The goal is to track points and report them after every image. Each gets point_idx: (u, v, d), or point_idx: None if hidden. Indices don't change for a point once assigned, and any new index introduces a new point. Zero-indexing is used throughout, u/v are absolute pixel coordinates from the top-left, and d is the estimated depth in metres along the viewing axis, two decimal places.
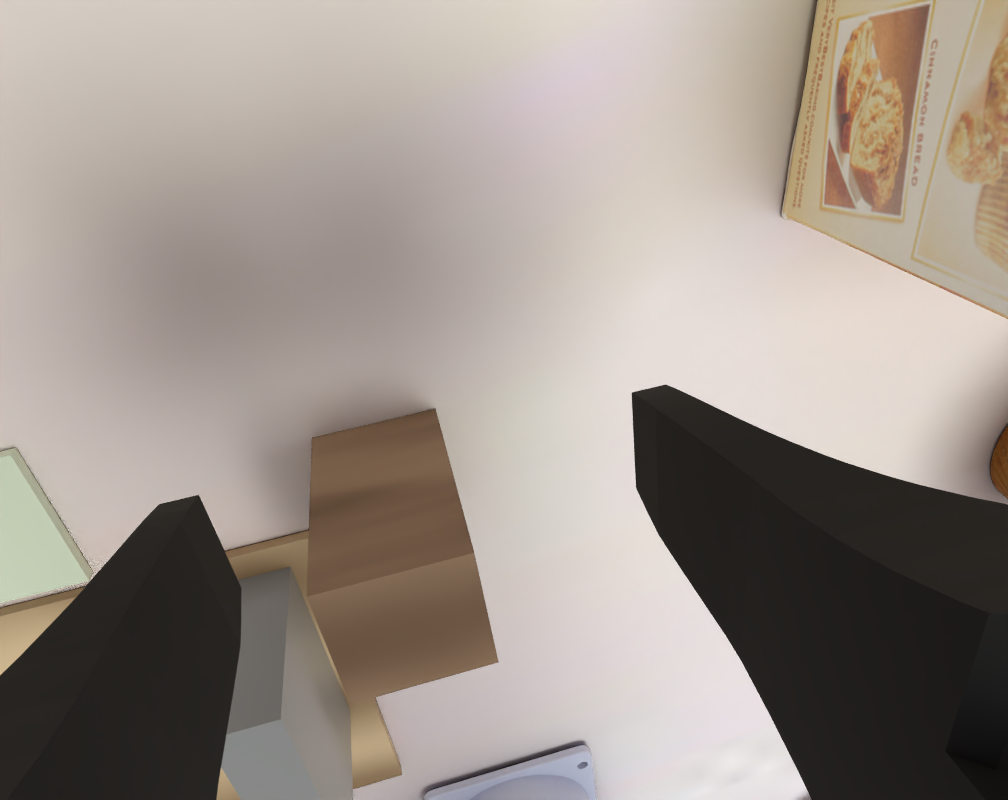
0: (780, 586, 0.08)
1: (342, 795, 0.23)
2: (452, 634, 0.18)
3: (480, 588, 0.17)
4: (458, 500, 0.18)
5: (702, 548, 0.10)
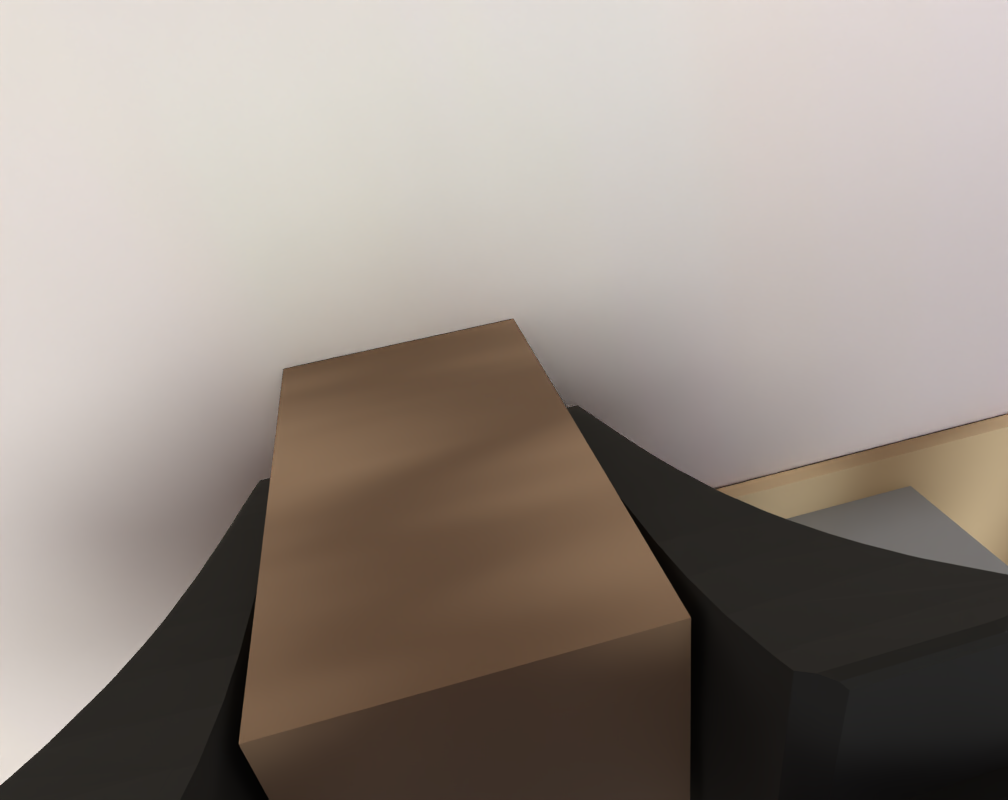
0: None
1: None
2: (542, 730, 0.07)
3: (381, 707, 0.06)
4: (260, 573, 0.08)
5: None
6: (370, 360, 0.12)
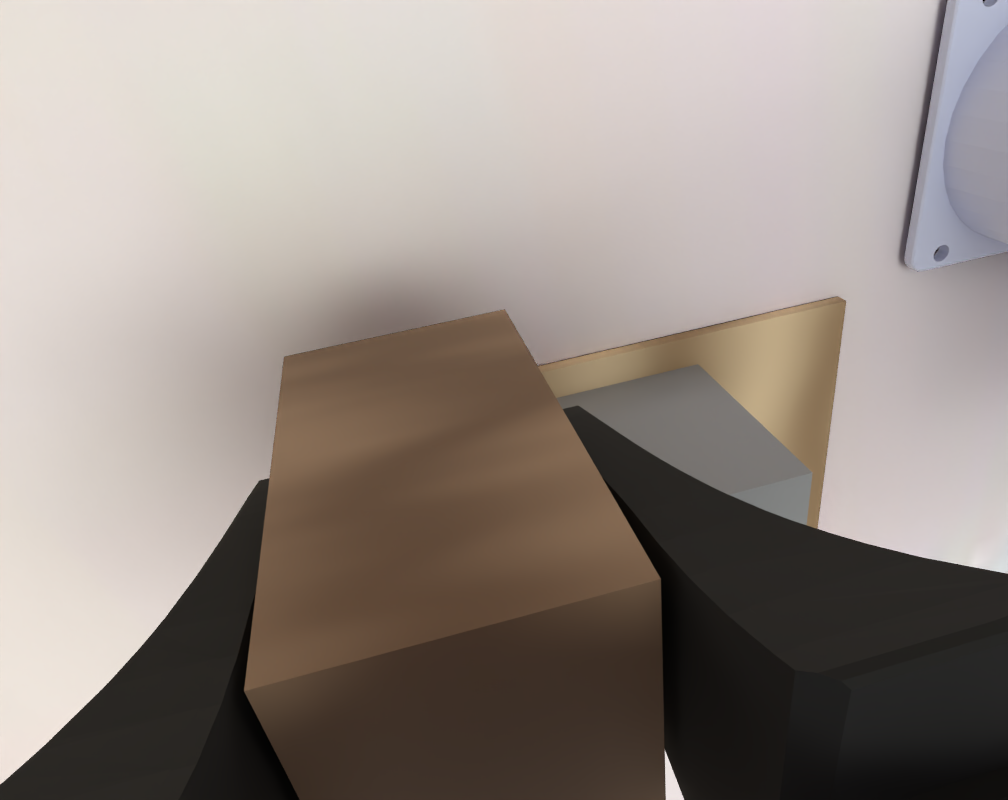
0: None
1: (721, 451, 0.18)
2: (523, 685, 0.07)
3: (374, 659, 0.06)
4: (263, 542, 0.08)
5: None
6: (367, 348, 0.12)
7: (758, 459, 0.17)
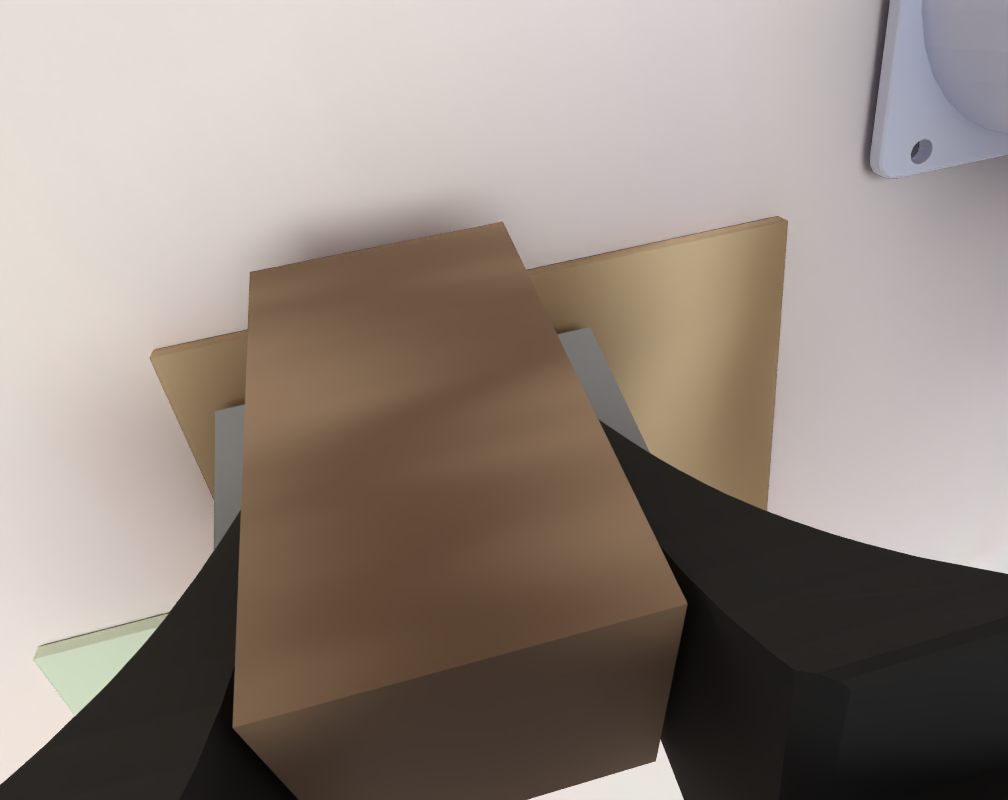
0: None
1: None
2: (531, 695, 0.07)
3: (375, 691, 0.06)
4: (241, 529, 0.07)
5: None
6: (346, 266, 0.11)
7: None
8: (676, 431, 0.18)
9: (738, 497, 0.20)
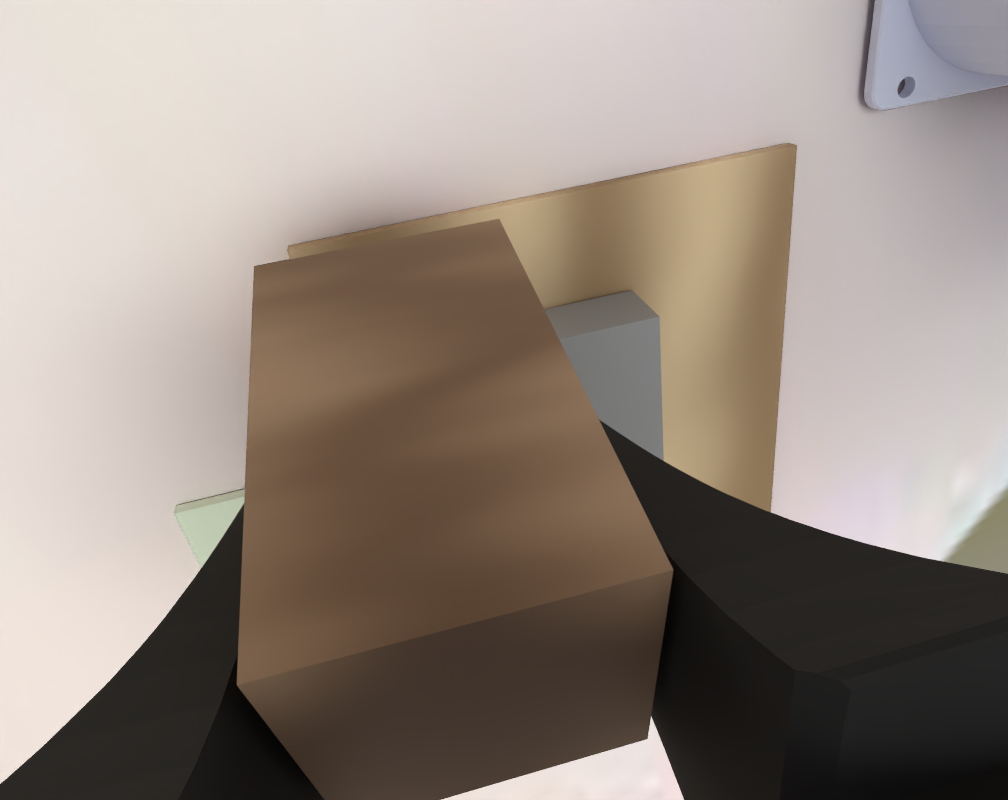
0: None
1: None
2: (524, 661, 0.07)
3: (373, 651, 0.06)
4: (245, 503, 0.08)
5: None
6: (347, 261, 0.11)
7: None
8: (703, 329, 0.21)
9: (754, 392, 0.23)
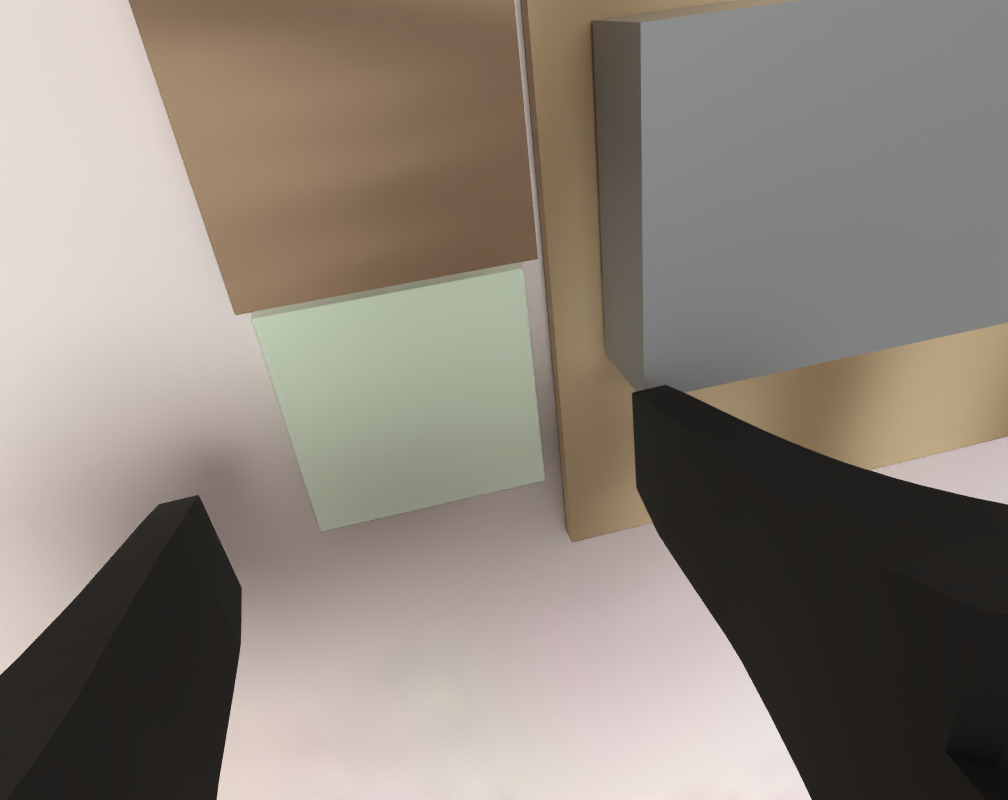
0: (780, 586, 0.08)
1: (983, 252, 0.13)
2: None
3: None
4: None
5: (702, 548, 0.10)
6: None
7: (1005, 279, 0.13)
8: None
9: None
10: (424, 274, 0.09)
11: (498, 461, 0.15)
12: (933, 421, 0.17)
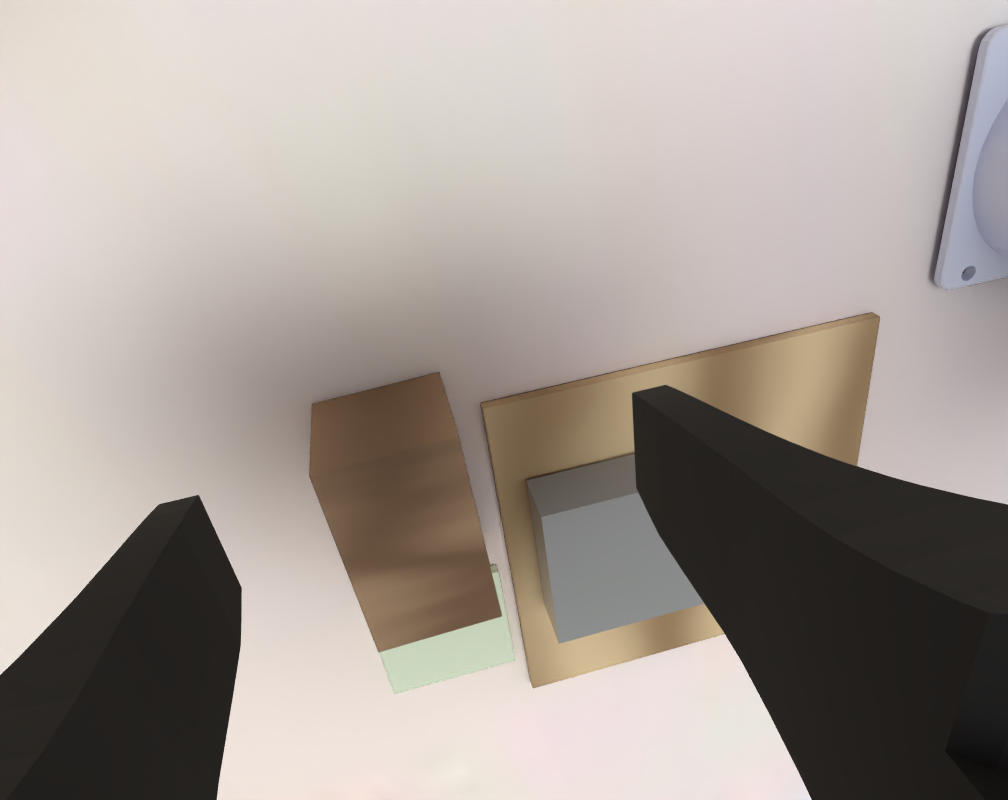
0: (780, 586, 0.08)
1: None
2: (394, 396, 0.21)
3: None
4: None
5: (702, 548, 0.10)
6: None
7: None
8: None
9: None
10: (454, 628, 0.22)
11: (489, 654, 0.28)
12: None
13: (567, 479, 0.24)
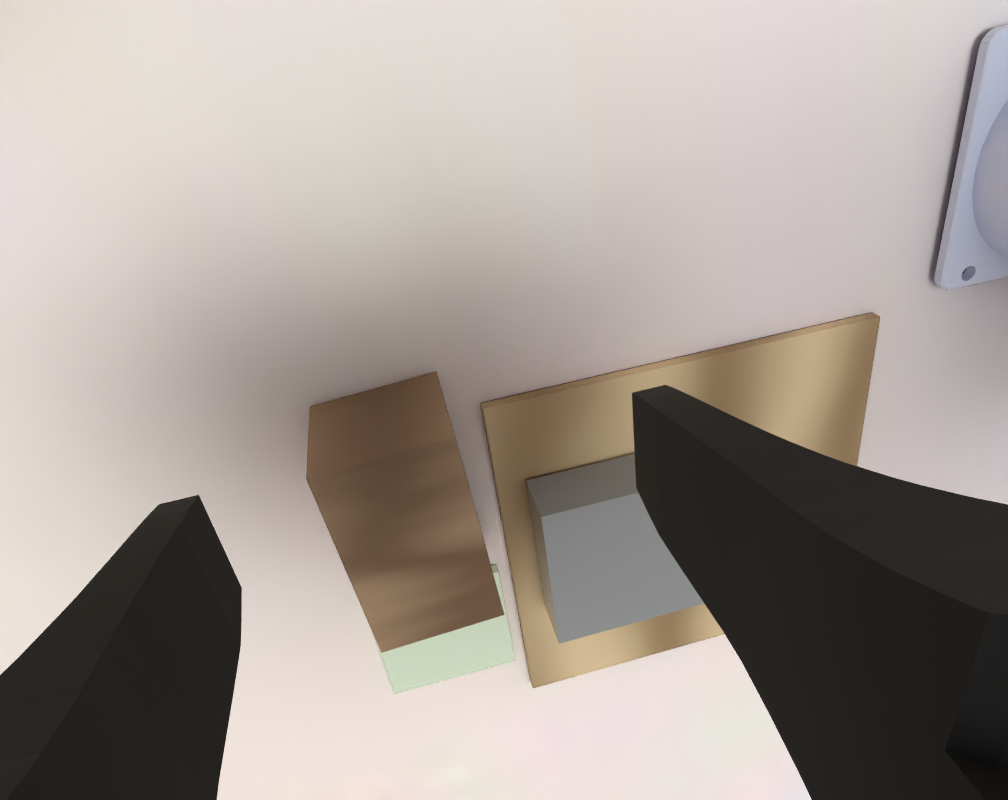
0: (780, 586, 0.08)
1: None
2: (391, 397, 0.21)
3: None
4: None
5: (702, 548, 0.10)
6: None
7: None
8: None
9: None
10: (457, 627, 0.22)
11: (489, 654, 0.28)
12: None
13: (567, 479, 0.24)
